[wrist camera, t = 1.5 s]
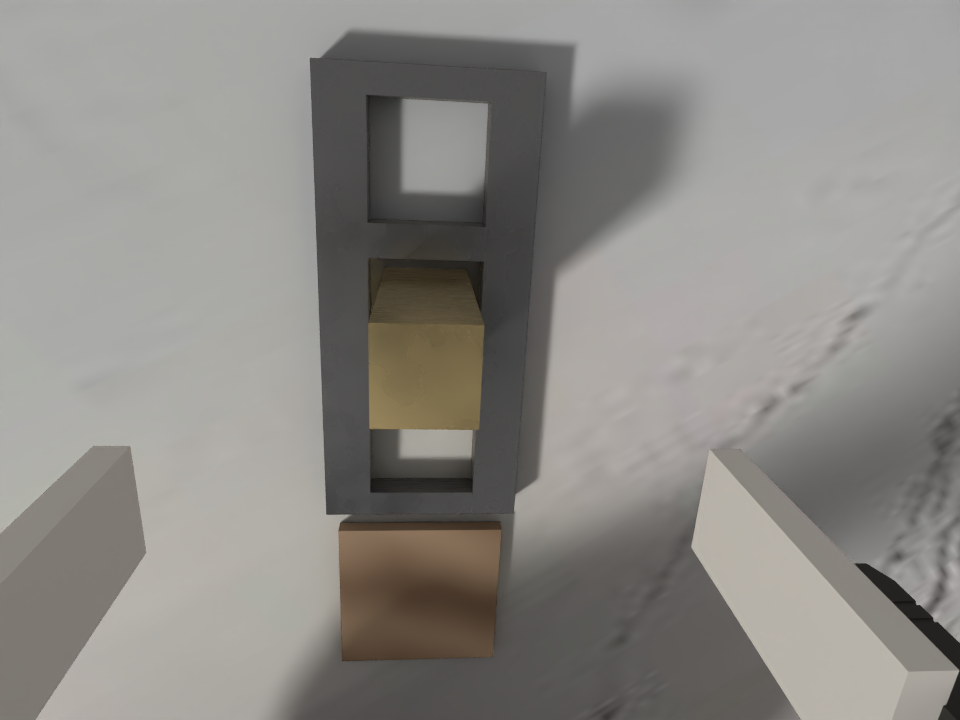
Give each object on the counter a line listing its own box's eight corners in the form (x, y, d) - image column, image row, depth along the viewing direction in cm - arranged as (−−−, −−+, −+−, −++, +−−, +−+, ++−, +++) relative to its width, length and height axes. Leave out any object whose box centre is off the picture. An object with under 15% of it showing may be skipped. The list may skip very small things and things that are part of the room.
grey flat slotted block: (510, 498, 36) (513, 513, 35) (330, 499, 35) (326, 514, 34) (540, 75, 29) (546, 72, 28) (315, 61, 28) (310, 57, 27)
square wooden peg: (463, 346, 33) (478, 429, 24) (385, 344, 33) (369, 429, 23) (466, 269, 32) (484, 325, 22) (385, 267, 31) (368, 322, 22)
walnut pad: (491, 647, 40) (493, 656, 39) (343, 650, 39) (342, 661, 38) (499, 521, 37) (501, 529, 36) (340, 522, 36) (338, 531, 35)
